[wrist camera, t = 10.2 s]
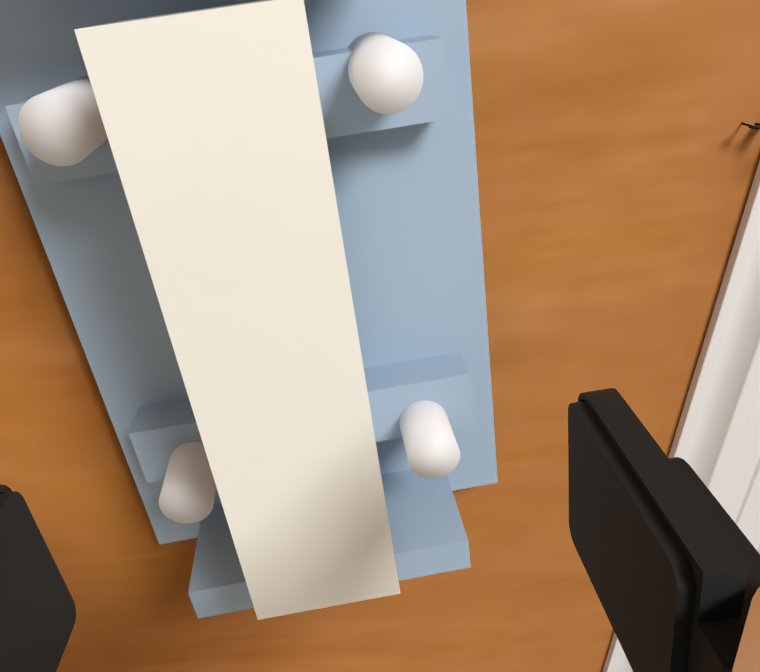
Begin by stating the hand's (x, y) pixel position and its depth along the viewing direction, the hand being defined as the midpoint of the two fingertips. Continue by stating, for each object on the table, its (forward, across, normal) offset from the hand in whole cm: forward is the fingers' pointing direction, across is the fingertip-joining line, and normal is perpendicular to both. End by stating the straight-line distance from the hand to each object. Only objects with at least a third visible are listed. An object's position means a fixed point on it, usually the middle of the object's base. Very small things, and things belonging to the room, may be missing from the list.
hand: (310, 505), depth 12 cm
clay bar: (+9, +1, 0) cm, 9 cm away
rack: (+12, +1, 0) cm, 12 cm away
